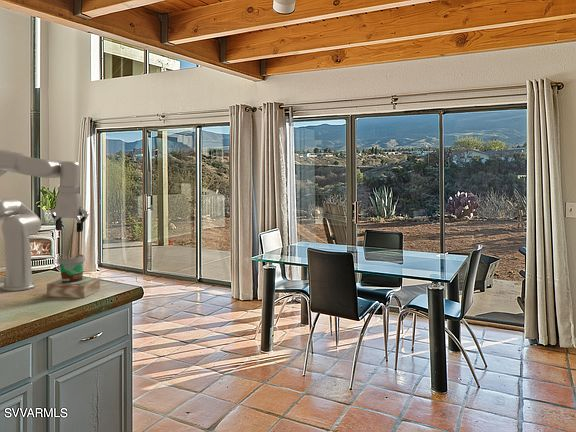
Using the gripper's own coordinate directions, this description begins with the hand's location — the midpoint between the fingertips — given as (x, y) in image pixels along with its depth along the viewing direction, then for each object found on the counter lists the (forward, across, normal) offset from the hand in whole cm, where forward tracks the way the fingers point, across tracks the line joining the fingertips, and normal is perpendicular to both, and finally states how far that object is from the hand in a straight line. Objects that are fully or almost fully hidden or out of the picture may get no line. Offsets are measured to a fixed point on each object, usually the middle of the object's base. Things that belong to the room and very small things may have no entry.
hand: (69, 230), depth 197 cm
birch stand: (+25, +6, -6) cm, 26 cm away
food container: (+20, +7, -6) cm, 22 cm away
